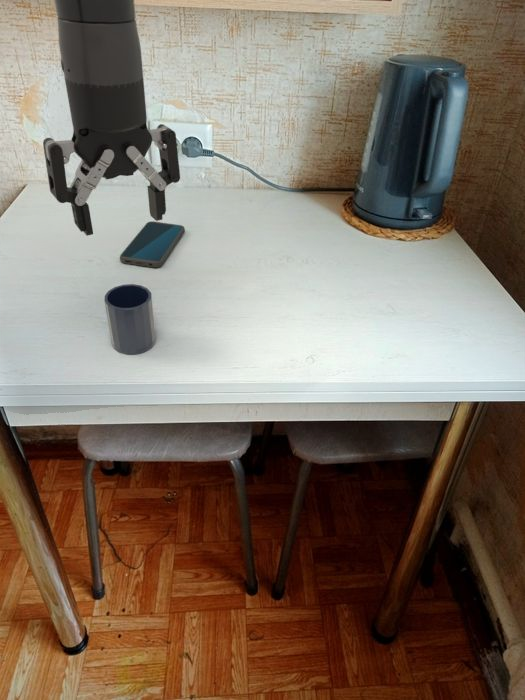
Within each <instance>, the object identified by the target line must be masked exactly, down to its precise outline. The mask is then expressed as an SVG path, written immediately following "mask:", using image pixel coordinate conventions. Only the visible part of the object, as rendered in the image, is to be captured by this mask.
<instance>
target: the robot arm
mask: <svg viewBox="0 0 525 700" xmlns="http://www.w3.org/2000/svg"><path fill="white" fill-rule="evenodd" d="M53 1H54V7H55V13H56V18H57V19H56V20H57V30H58V31H57V32H58V46H59V52H60V66H61V70H62V72H63V76H64V82H65V88H66V94H67V99H68V100H67V101H68V105H69V111H70V118H71V123H72V131H73V132H72V137H71V139H70V140H69V139H67V140H55V139H53V138H52V137H46V138H45V139H43V142H42V146H43V152H44V159H45V166H46V173H47V180H48V186H49V191H50V193H51V194H52V196H53V197H54V199H56V201H57V202H58V203H60V204H65V203H70V206H71V211H72V216H73V221H74V224H75V227H77V228H78V230H79V231H80V232H81V233H84V234H85V236H86V237H88V236H93V235H94V229H93V223H92V218H91V212H90V206H89V204H88V203H87V201H88V199H89V197H90V196H91V194H92V192H93V190H96V189H97V188H98V185H99V184H100V182H101V180H102V178H104V179H105V180H112V179H115V178H117V177H119V176H123V177H129V176H134V173H136V172H137V171H138V172H139V173H140V174H141V175H142V176H143V177H144V178H145V179H146V180H147V181H148V182H149V185H147V187H146V188H147V197H148V207H149V215H150V217H151V218H152V219H153V220H154V221H155V222H160V221H162V220H163V216H165V215H166V212H167V206H166V189H167V187H168V186H169V185H171V184H172V183H173V184H177V183H179V182H180V180H181V171H180V160H179V153H178V143H177V133H176V132H175V130H173V129H172V128H170V127H168V125H165V124H163V123H160V124H158V125H157V127H156V128H152V129H148V125H147V121H148V120H147V119H148V117H147V106H146V94H145V93H146V92H145V84H144V83H145V81H144V69H143V59H142V47H141V40H140V37H139V31H138V26H137V20H136V7H135V0H53ZM152 143H153V144H154V146H155V147H156V148H158V152H159V158H160V169H161V170H160V171H157V170H156V169H155V168H154V166H153V165H151V163H150V162H149V161H148V160H147V159H146V158H145V157H146V155H147V153H148V151H149V149H150V148H151V145H152ZM73 153H74V154H76V155H77V156H78V157H79V159H81V160H80V163H78V166H77V168H76V170H75V174H74V178H73V180H72V182H71V184H70V186H68V184H67V175H66V168H65V165H67V164H68V163H69V162H70V157H71V154H73Z"/></svg>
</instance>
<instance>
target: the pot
mask: <svg viewBox="0 0 525 700" xmlns="http://www.w3.org/2000/svg"><path fill="white" fill-rule="evenodd" d="M152 295H153V294H152V292H151V291H150V289H149V288H148V287H145V286H143V285H140V284H134V283H128V284H121V285H117V286H114V287H113V288H110V289H109V290H107V292H106V293H105V295H104V301H103V302H104V307H105V313H106V320H107V325H108V330H109V337H110V343H111V345H112V347H113V349H114V350H115V351H116V352H118V353H120V354H123V355H131V356H134V355H135V356H136V355H140V354H143V353H146V352H147V351H149V350H151V349H152V348H153V347H154V346H155V344H156V340H157V337H156V326H155V318H154V317H155V316H154V306H153V296H152Z"/></svg>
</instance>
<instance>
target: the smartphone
mask: <svg viewBox="0 0 525 700" xmlns="http://www.w3.org/2000/svg"><path fill="white" fill-rule="evenodd" d="M184 233H185V226H183V225H182V224H174V223H167V222H161V221H155V220H154V221H147V223H145V225H144V226H143V227H142V228H141V229H140V231H139V232H138V233H137V235H135V237H133V239H132V240H131V242H130V243H129V244H128V245H127V246H126V247H125V249H124V250H123V251H122V253H120V255H119V261H120V263H123V264H128V265H135V266H140V267H141V266H142V267H146V268H147V267H148V268H160V267H161V266H163V264H164V263H165V261H166V259H167V258H168V257H169V255H170V254H171V253H172V251H173V250H174V248H175V246H176V245H177V243H178V242H179V240H180V239H181V237H182V236H183V234H184Z"/></svg>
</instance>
